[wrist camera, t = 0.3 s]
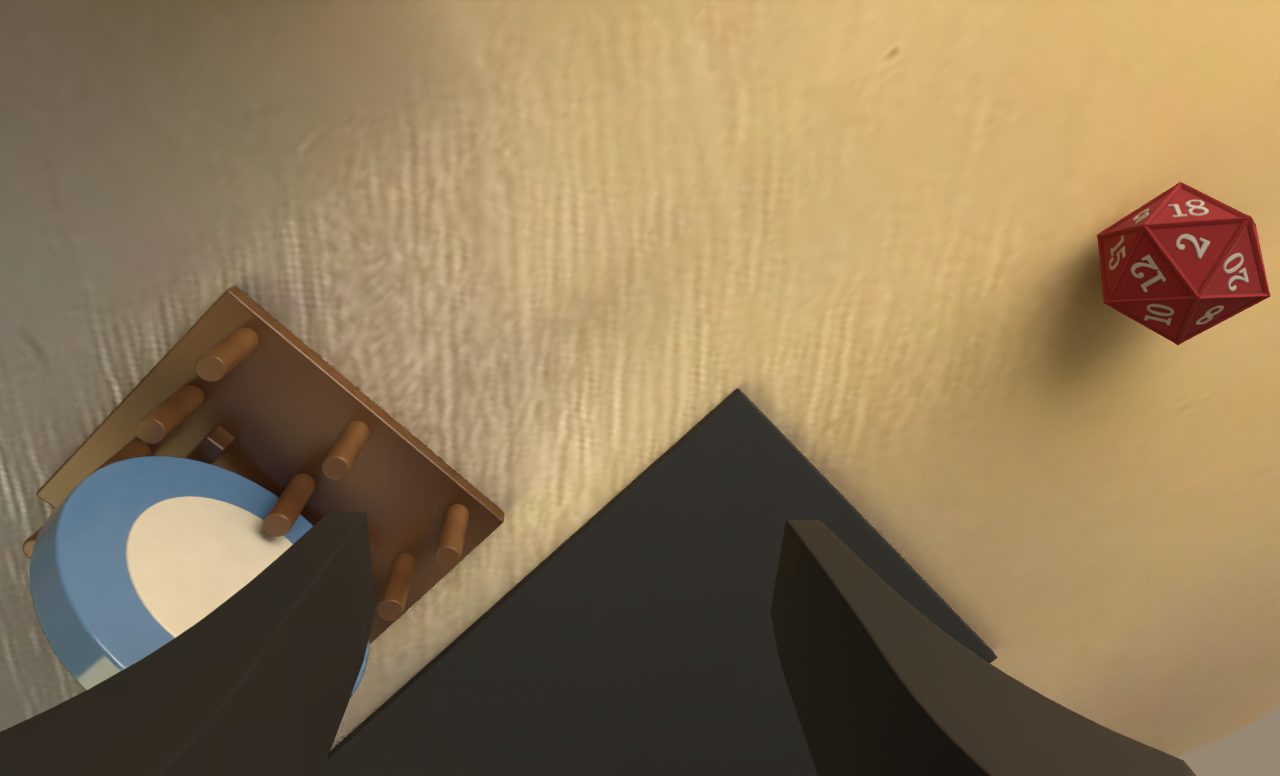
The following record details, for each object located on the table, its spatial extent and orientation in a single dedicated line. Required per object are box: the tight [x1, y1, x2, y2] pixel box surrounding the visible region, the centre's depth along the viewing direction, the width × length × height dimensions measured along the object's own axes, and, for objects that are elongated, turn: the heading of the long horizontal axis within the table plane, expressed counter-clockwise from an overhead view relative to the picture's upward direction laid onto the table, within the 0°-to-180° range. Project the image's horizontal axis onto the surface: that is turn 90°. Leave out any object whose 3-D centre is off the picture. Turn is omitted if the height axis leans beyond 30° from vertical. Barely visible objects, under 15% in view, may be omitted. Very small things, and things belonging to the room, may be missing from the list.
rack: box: [23, 286, 504, 644], centre depth 23 cm, size 8×10×3 cm
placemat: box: [321, 389, 997, 776], centre depth 28 cm, size 20×14×1 cm
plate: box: [30, 456, 369, 696], centre depth 20 cm, size 1×8×8 cm, turn 44°
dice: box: [1097, 182, 1270, 345], centre depth 22 cm, size 4×4×4 cm
